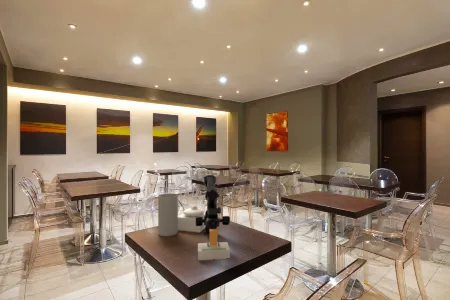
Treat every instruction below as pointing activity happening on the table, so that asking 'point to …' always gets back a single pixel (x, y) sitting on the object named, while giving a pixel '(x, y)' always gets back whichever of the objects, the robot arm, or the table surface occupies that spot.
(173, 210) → the cylinder vase
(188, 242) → the table surface
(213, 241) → the breaker lever
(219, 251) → the box
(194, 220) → the butter dish
